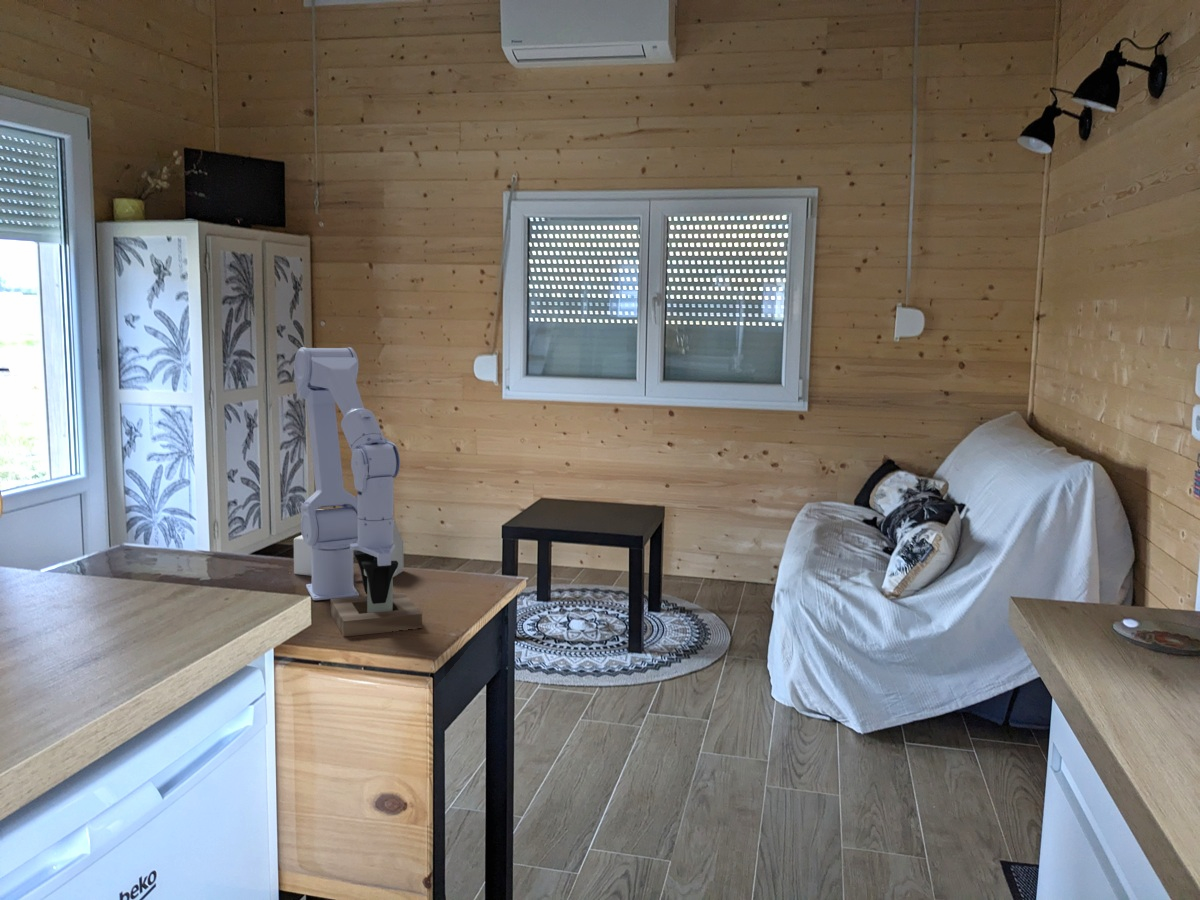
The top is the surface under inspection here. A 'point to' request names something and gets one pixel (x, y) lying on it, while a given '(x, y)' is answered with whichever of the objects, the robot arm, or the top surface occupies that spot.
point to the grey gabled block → (397, 549)
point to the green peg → (380, 606)
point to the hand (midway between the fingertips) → (375, 598)
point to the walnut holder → (374, 616)
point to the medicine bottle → (302, 556)
